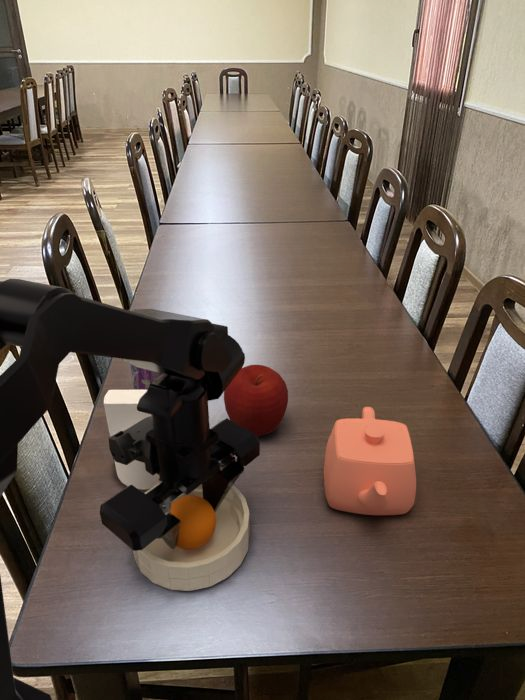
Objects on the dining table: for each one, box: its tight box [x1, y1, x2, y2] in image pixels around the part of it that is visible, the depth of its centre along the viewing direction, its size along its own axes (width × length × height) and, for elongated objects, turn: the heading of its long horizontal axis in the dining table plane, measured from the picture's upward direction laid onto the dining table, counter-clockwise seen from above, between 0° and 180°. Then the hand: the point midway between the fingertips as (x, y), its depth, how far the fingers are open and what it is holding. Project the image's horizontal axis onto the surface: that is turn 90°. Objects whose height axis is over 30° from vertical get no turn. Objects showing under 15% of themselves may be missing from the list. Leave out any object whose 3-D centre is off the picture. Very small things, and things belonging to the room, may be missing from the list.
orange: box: [171, 495, 216, 550], centre depth 62 cm, size 6×6×6 cm
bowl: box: [132, 483, 251, 592], centre depth 63 cm, size 14×14×4 cm
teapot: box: [323, 406, 417, 516], centre depth 68 cm, size 12×18×10 cm, turn 175°
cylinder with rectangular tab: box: [103, 389, 159, 490], centre depth 72 cm, size 9×9×12 cm
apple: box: [223, 364, 289, 437], centre depth 80 cm, size 10×10×10 cm
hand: (191, 529), depth 63 cm, fingers closed on orange, 6 cm apart
